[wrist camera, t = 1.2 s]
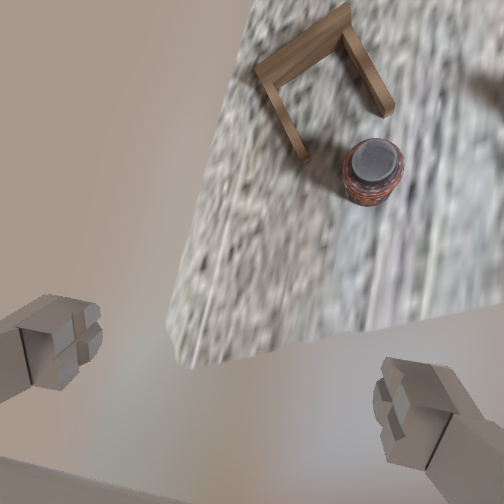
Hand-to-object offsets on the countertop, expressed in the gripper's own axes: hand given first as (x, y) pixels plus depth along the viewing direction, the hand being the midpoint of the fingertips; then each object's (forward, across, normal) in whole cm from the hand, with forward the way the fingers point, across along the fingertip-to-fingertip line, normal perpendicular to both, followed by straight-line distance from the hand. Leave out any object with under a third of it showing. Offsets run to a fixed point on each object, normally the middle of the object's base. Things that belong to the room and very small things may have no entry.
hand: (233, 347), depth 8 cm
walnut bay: (+39, -3, -11) cm, 40 cm away
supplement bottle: (+34, -10, -1) cm, 36 cm away
